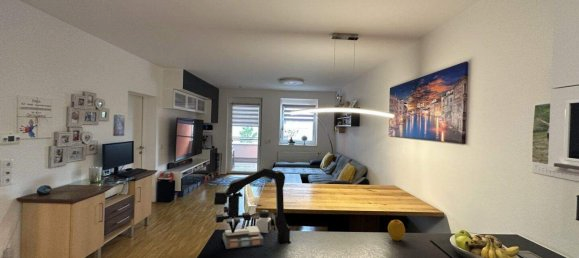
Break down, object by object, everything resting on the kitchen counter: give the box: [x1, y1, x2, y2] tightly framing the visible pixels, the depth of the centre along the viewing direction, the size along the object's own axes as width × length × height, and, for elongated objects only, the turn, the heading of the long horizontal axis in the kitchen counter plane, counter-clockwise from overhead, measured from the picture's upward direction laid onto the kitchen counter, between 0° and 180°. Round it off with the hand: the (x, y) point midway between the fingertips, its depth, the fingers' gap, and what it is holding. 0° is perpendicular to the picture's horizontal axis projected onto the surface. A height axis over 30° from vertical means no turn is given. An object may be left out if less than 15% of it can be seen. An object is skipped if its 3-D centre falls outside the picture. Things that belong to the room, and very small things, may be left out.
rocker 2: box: [236, 228, 249, 235], centre depth 171 cm, size 6×8×2 cm
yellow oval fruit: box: [387, 219, 406, 242], centre depth 179 cm, size 10×10×12 cm
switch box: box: [222, 232, 264, 250], centre depth 170 cm, size 20×14×4 cm
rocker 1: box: [224, 229, 238, 236], centre depth 169 cm, size 6×8×2 cm
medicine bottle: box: [256, 210, 272, 234], centre depth 188 cm, size 7×7×12 cm
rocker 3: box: [245, 225, 261, 235], centre depth 173 cm, size 6×8×2 cm
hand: (232, 233), depth 166 cm, fingers closed, pressing on rocker 1
